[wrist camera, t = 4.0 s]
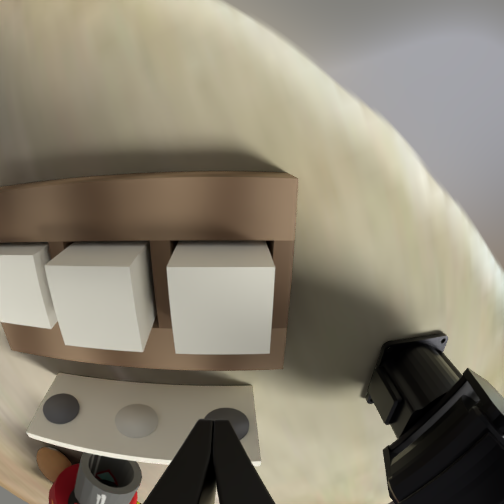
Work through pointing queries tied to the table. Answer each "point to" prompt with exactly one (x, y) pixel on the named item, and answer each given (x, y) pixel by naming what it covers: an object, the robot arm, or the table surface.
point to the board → (157, 246)
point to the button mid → (104, 294)
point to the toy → (89, 478)
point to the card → (138, 417)
